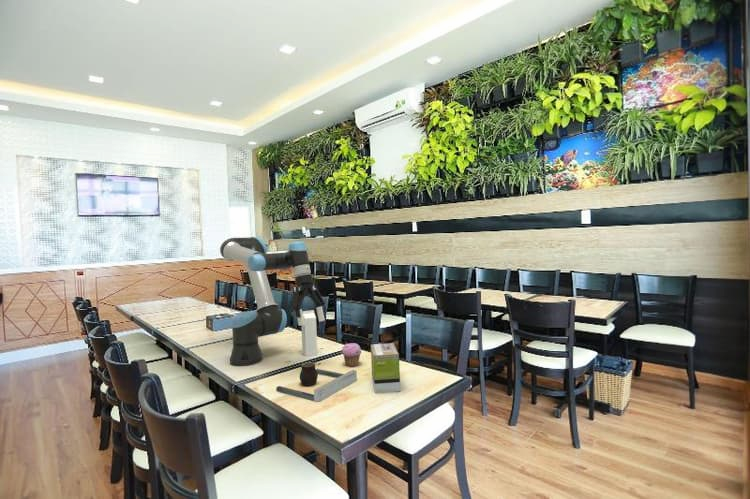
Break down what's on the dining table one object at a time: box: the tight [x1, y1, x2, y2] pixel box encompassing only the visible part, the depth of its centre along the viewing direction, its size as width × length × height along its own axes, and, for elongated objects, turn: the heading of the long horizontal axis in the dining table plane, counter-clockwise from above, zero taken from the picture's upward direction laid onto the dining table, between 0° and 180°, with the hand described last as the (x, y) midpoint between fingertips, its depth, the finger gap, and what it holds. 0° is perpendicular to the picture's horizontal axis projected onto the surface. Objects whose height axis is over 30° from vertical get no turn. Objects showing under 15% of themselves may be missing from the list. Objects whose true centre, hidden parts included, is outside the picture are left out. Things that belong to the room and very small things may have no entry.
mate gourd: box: [299, 357, 319, 387], centre depth 159 cm, size 7×8×10 cm
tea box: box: [370, 342, 401, 394], centre depth 155 cm, size 15×10×15 cm, turn 5°
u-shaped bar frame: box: [275, 368, 358, 403], centre depth 156 cm, size 21×24×4 cm
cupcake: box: [341, 342, 362, 367], centre depth 181 cm, size 9×9×10 cm
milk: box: [301, 309, 318, 357], centre depth 199 cm, size 6×6×22 cm
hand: (312, 323), depth 172 cm, fingers open, 13 cm apart
